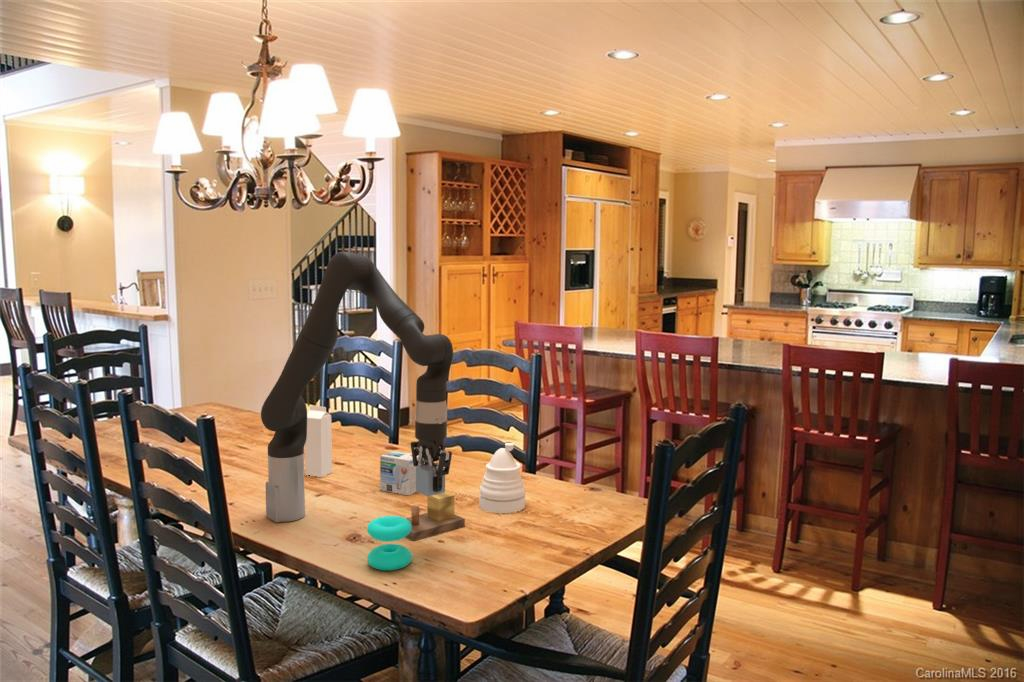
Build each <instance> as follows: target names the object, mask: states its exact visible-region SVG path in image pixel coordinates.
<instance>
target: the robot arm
mask: <svg viewBox="0 0 1024 682" xmlns="http://www.w3.org/2000/svg"><path fill="white" fill-rule="evenodd" d="M323 274H324V275H323V276H322V279H321V282H320V286H319V288H318V290H317V291H318V292H317V293H316V297H315V299H314V302H313V304H312V306H311V308H310V311H309V313H308V315H307V318H306V320H305V322H304V324H303V326H302V327H301V330H300V331H299V334H298V336H297V337H296V340H295V342H294V344H293V347H292V349H291V351H290V354H289V356H288V358H287V360H286V362H285V364H284V366H283V369H282V371H281V373H280V376H279V377H278V379H277V381H276V382H275V384H274V386H273V387H272V389H271V391H270V392H269V394H268V395H267V397H266V398H265V400H264V402H263V404H262V406H261V410H260V419H261V422H262V424H263V426H264V427H265V429H267V430H268V431H271V432H274V434H273V437H272V439H271V440H270V441H269V443H268V444H267V473H268V474H267V475H268V477H267V478H268V480H267V481H266V482H265V512H266V514H265V515H266V518H268V519H269V520H272V521H273V522H274V523H276V524H277V523H285V522H286V523H287V522H293V521H298V520H301V519H303V518H305V515H306V496H305V495H306V493H305V491H306V490H305V488H306V487H305V443H306V439H307V413H308V409H307V404H306V401H305V399H304V398H303V397H302V394H303V392H304V391H305V389H306V387H307V386H308V385H309V384H310V383H311V381H312V380H313V379H314V378H315V376H317V374H319V372H320V371H321V370H322V369H323V367H324V366H325V364H326V363H327V361H328V360H329V357H330V356H331V354H332V351H333V349H334V348H335V346H336V343H337V340H338V336H339V327H338V325H339V324H338V310H339V308H340V304H341V302H342V299H343V297H344V295H346V292H347V291H353V292H354V291H355V292H356V291H358V292H360V293H362V294H363V295H364V296H366V297H368V298H369V299H370V300H371V302H373V303H374V304H375V306H376V308H377V312H378V314H379V316H380V318H381V321H383V323H384V324H385V326H386V327H387V328H388V329H389V330H390V331H391V332H392V334H394V335H395V336H396V337H397V338H398V339H399V340H400V343H401V344H402V346H403V348H404V350H405V352H406V353H407V355H408V357H409V358H410V360H411V361H412V362H414V363H415V364H417V365H419V366H420V367H421V366H422V367H426V371H425V372H424V373H423V374H421V375H420V376H419V377H417V379H416V387H415V388H416V389H415V390H416V392H415V393H416V394H415V395H416V397H415V398H416V401H415V409H414V424H415V425H414V438H416V441H411V442H410V449H411V454H412V458H413V465H414V466H423V465H429V466H430V467H431V468H432V471H433V491H434V492H438V491H441V490H442V477H443V475H445V476H446V475H449V474H450V467H451V463H452V462H451V461H452V457H453V452H452V451H451V450H449V451H447V450H446V449H445V446H444V440H445V439H447V435H448V434H447V433H448V406H447V381H448V378H449V374H450V372H451V371H450V369H451V367H452V362H453V358H454V348H453V343H452V341H451V339H450V338H449V337H448V336H447V335H445V334H443V333H435V334H429V335H428V334H427V335H426V334H424V331H425V323H424V321H423V319H421V317H420V316H419V315H418V314H417V313H416V312H414V310H413V309H412V308H411V307H410V306H409V305H408V304H407V303H405V301H404V300H403V299H402V298H401V297H400V296H399V295H398V294H397V293H396V292H395V291H394V289H393V288H392V286H391V285H390V284H389V283H388V281H387V280H386V278H384V276H383V275H382V273H381V272H380V270H379V269H378V267H377V266H376V265H375V263H374V262H373V261H372V259H370V258H369V257H368V256H365V255H363V254H360V253H359V254H358V253H353V252H349V251H339V252H337V253H335V254H334V255H333V256H332V257H331V258H330V260H329V262H328V263H327V266H326V268H325V271H324V273H323ZM418 455H419V456H418ZM417 456H418V461H417ZM436 466H438V471H437V469H436ZM443 467H444V468H445V469H443Z"/></svg>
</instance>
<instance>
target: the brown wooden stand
mask: <svg viewBox="0 0 1024 682" xmlns="http://www.w3.org/2000/svg"><path fill="white" fill-rule="evenodd" d="M426 497H427V500H426V501H427V505H426V506H427V509H426V510H427V512H425V513H421V514H420V505H411V508H410V510H411V511H410V512H411V516H409V517H405V518H406V519H407V520H409V521H410V523H411V526H412V529H411V532H410V533H409V534H408V535H407V536H406V537H405V538H407V539H409V540H411V541H413V542H416V541H418V540H422V539H425V538H428V536H429V537H431V536H436V535H439V534H442V533H446V532H449V531H453V530H456V528H457V529H460V528H464V527H465V526H466V525H465V524H466V522H465V521H466V520H465V519H466V518H464V517H461V516H460V515H457V514H455V494H453V493H450V492H447V491H445V492H444V493H440V494H436V495H432V496H426ZM463 526H464V527H463ZM459 527H460V528H459ZM452 529H453V530H452ZM435 534H436V535H435Z"/></svg>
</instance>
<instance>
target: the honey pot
mask: <svg viewBox="0 0 1024 682" xmlns="http://www.w3.org/2000/svg"><path fill="white" fill-rule="evenodd" d="M514 448H515V443H513V442H512V443H511V442H506V443H504V447H500V448H499V449H496V451H495V452H494V453H493V455H492V457H491V459H490V461H489V462H488V463H486V464H485V469H486V470H485V473H484V475H483V477H482V478H483V479H482V480H481V484H480V486H479V491H478V492H479V495H478V496H479V498H478V501H479V502H478V504H479V505H478V507H479V506H480V507H479V509H481V510H482V509H483V510H482V511H484V510H485V511H484V512H486V511H489V512H488V513H490V512H495V513H494V514H496V513H509V514H512V513H511V512H515V513H517V512H516V511H519V510H521V509H523V508H524V507H525V508H526V487H525V485H524V481H523V478H522V475H521V473H520V470H521V468H522V465H521V463H519V462H517V461H515V459H514V458H515V457H514V456H513V455H512V453H511V451H513V449H514ZM525 508H524V509H525ZM524 509H523V510H524ZM521 511H522V510H521ZM519 512H520V511H519Z"/></svg>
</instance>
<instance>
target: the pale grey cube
mask: <svg viewBox="0 0 1024 682" xmlns="http://www.w3.org/2000/svg"><path fill="white" fill-rule="evenodd" d="M436 469H437V471H438V466H436ZM443 469H445V467H443ZM416 491H417V492H416V493H420V494H422V495H423V496H426V497H427V496H432V495H436V494H440V493H444V492H446V475H443V477H442V490H441V491H438V492H434V491H433V471H432V468H431V467H430V466H429V465H423V466H417V467H416Z"/></svg>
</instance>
